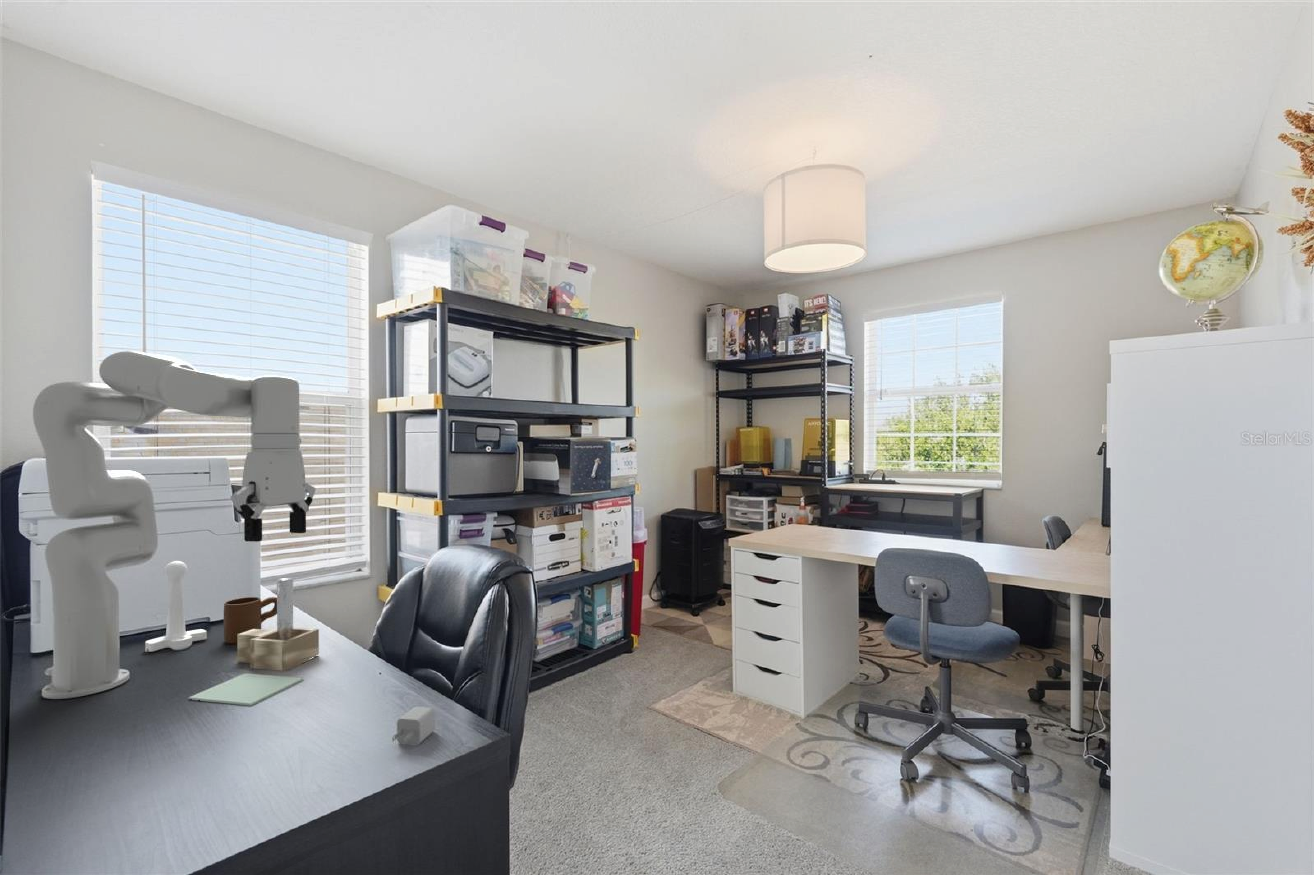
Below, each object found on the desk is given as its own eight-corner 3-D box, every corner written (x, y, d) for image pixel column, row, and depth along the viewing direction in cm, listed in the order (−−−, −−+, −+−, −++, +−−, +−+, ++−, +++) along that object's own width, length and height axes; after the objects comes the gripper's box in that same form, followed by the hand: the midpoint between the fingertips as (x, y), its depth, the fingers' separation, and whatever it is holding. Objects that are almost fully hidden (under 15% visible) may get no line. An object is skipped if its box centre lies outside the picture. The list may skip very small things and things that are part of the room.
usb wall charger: (435, 732, 99) (434, 708, 99) (410, 754, 92) (410, 727, 92) (412, 730, 99) (412, 706, 99) (386, 752, 92) (386, 725, 92)
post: (274, 664, 130) (273, 580, 130) (285, 659, 133) (284, 577, 133) (285, 664, 130) (285, 581, 130) (296, 659, 133) (296, 578, 133)
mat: (188, 699, 112) (188, 697, 112) (245, 675, 124) (245, 673, 124) (250, 705, 109) (250, 703, 109) (303, 680, 121) (303, 678, 121)
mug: (278, 628, 156) (277, 592, 156) (285, 635, 150) (284, 597, 150) (221, 639, 147) (221, 600, 148) (226, 646, 142) (226, 606, 142)
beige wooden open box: (227, 666, 129) (227, 638, 129) (262, 651, 138) (262, 625, 138) (285, 671, 126) (285, 642, 126) (318, 656, 135) (318, 629, 135)
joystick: (200, 637, 149) (199, 556, 150) (212, 642, 145) (212, 559, 145) (143, 650, 140) (142, 564, 140) (154, 656, 136) (154, 567, 136)
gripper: (296, 443, 120) (297, 529, 120) (215, 444, 103) (215, 544, 103) (328, 443, 118) (329, 530, 118) (251, 443, 102) (251, 545, 101)
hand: (276, 536), depth 111 cm, fingers open, 9 cm apart
